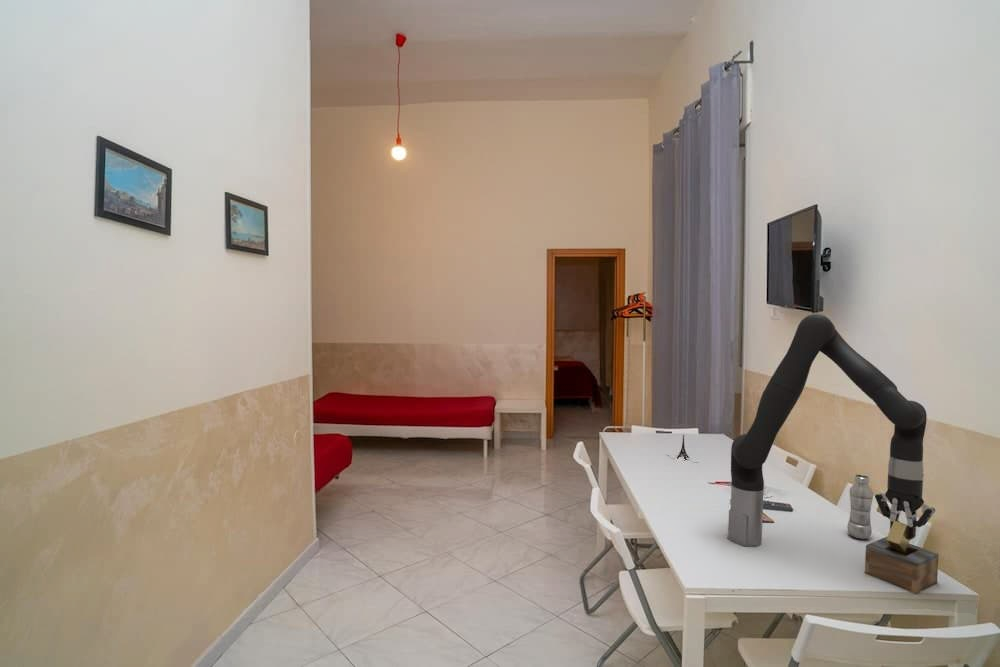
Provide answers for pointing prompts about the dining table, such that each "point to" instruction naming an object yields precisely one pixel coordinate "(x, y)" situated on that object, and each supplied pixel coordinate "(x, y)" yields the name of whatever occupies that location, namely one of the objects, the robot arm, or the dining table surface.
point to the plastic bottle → (860, 508)
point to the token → (898, 536)
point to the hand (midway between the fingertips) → (902, 536)
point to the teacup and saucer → (764, 489)
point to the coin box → (902, 565)
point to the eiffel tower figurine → (683, 451)
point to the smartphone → (767, 519)
